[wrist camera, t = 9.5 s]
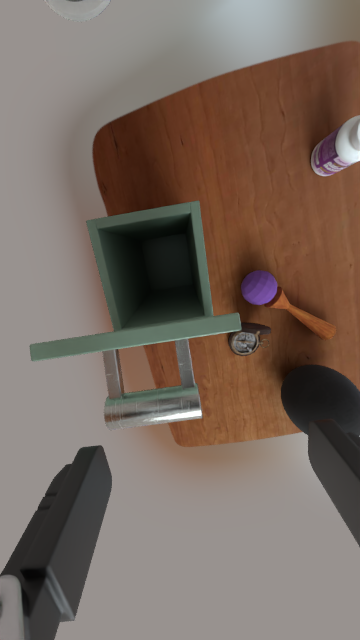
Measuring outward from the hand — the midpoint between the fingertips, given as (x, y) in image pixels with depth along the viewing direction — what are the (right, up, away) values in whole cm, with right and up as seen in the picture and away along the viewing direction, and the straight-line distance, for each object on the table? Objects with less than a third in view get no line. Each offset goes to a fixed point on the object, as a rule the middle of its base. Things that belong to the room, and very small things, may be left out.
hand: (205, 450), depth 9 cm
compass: (+13, +2, +38) cm, 40 cm away
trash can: (-3, +16, +33) cm, 37 cm away
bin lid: (-3, +4, +7) cm, 9 cm away
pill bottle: (+23, +31, +29) cm, 48 cm away
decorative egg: (+24, -7, +40) cm, 48 cm away
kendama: (+19, +8, +36) cm, 41 cm away
